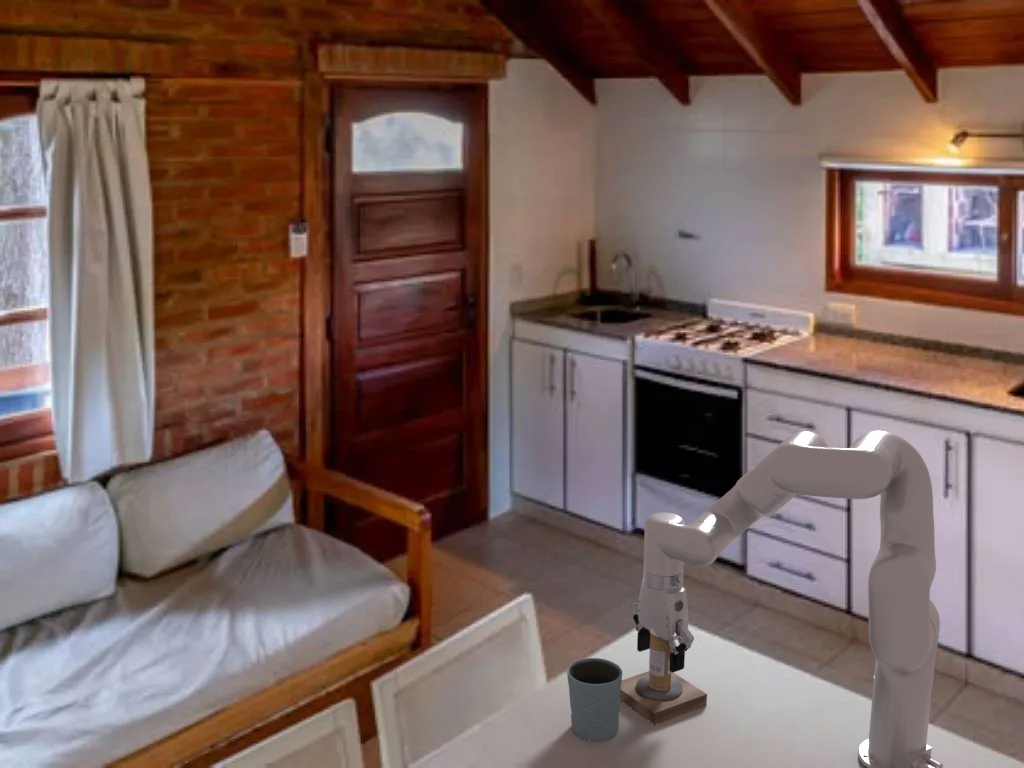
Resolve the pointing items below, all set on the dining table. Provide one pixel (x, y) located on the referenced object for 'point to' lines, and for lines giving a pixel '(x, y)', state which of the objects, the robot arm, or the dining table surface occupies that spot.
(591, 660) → the blue-grey cup
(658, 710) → the walnut base
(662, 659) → the sprinkles bottle
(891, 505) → the robot arm
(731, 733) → the dining table surface
